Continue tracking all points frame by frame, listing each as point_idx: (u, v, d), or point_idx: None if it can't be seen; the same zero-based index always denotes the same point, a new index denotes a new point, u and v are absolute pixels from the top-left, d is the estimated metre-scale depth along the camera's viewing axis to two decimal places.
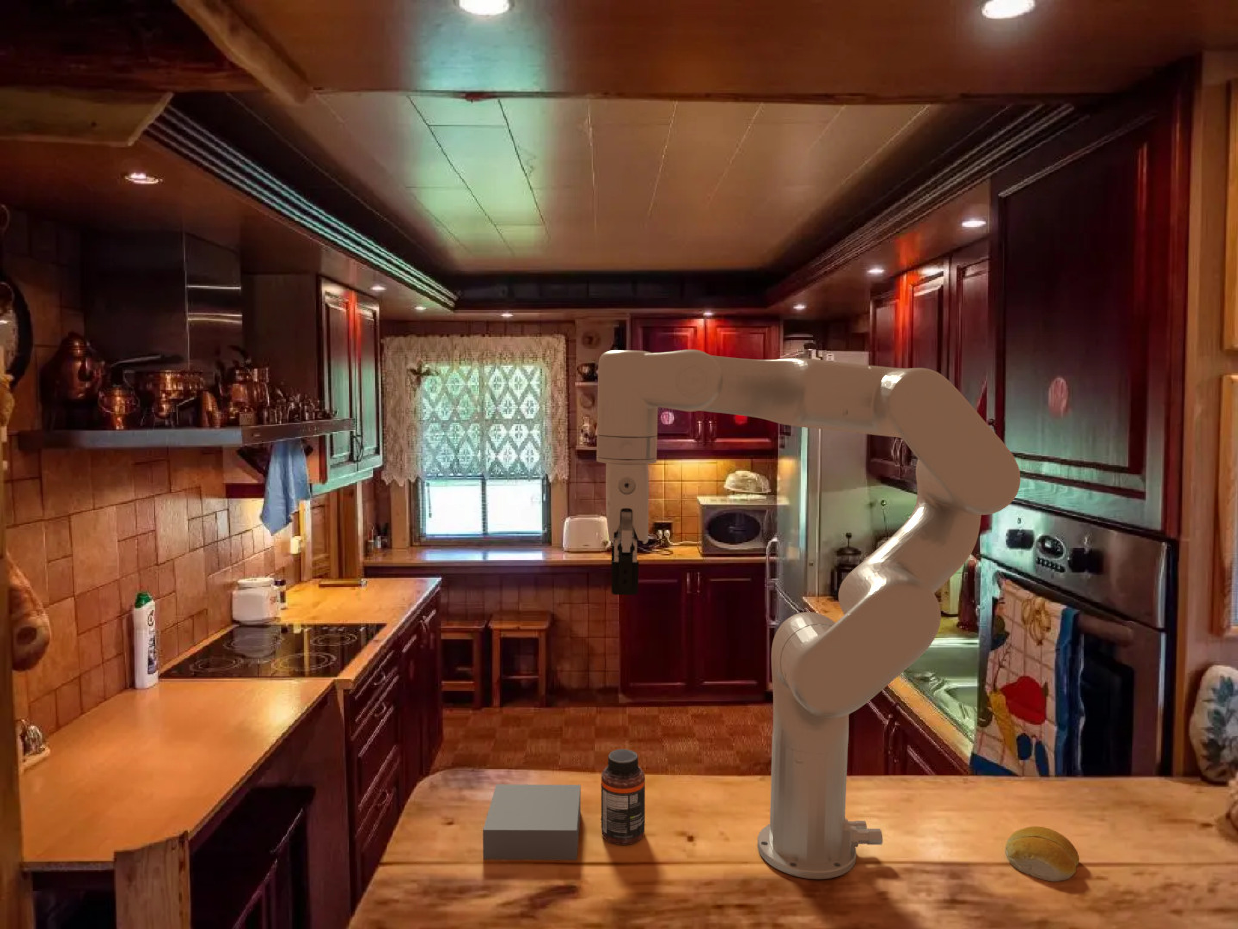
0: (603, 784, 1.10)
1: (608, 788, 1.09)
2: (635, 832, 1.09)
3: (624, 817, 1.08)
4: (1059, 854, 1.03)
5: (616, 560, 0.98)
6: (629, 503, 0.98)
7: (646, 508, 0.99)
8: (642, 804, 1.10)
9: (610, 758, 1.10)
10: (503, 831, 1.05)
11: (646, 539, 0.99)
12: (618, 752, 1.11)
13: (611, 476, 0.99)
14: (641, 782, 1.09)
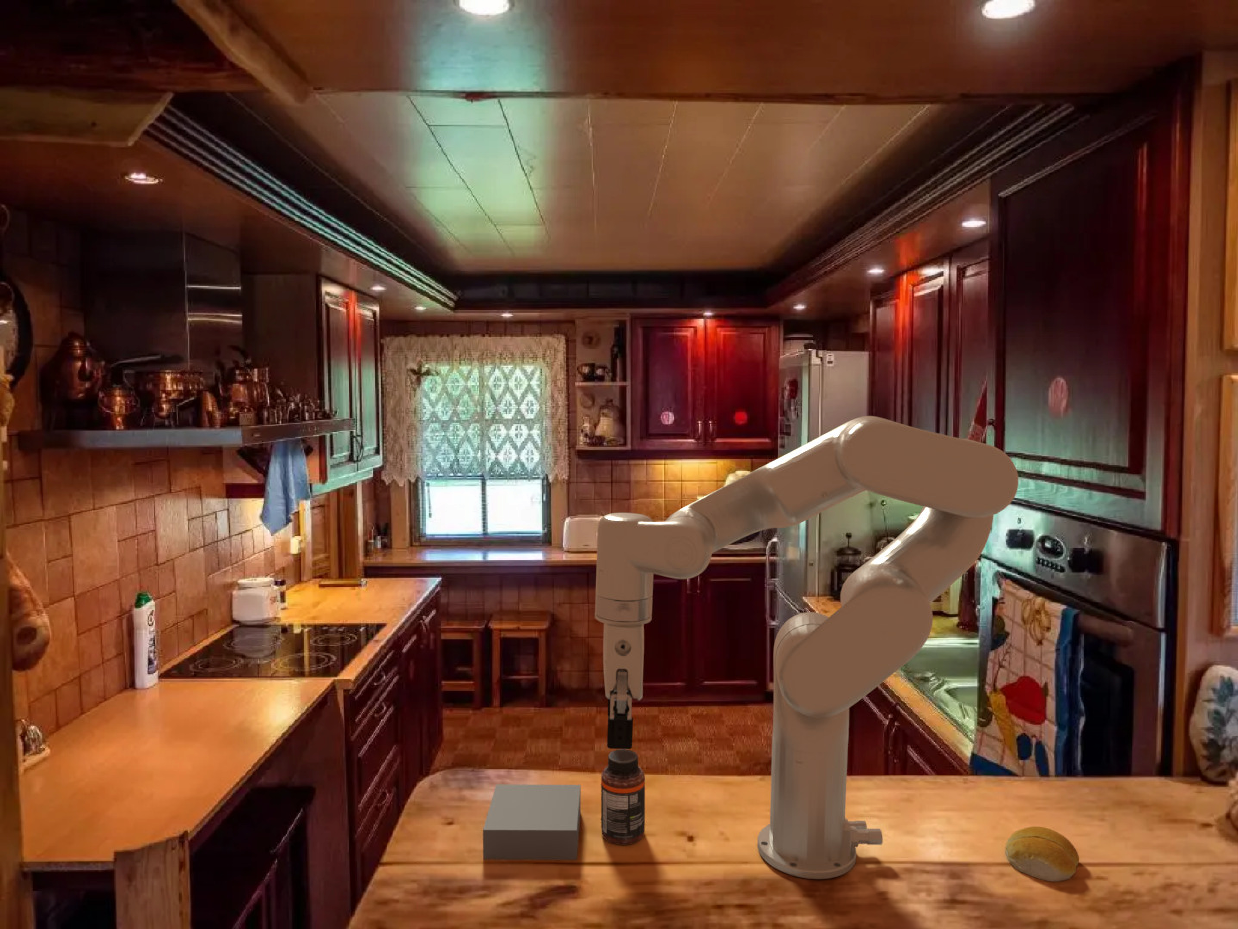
0: (603, 784, 1.10)
1: (608, 788, 1.09)
2: (635, 832, 1.09)
3: (624, 817, 1.08)
4: (1059, 854, 1.03)
5: (612, 718, 1.04)
6: (625, 664, 1.04)
7: (641, 668, 1.05)
8: (642, 804, 1.10)
9: (610, 758, 1.10)
10: (503, 831, 1.05)
11: (640, 697, 1.05)
12: (618, 752, 1.11)
13: (608, 637, 1.05)
14: (641, 782, 1.09)
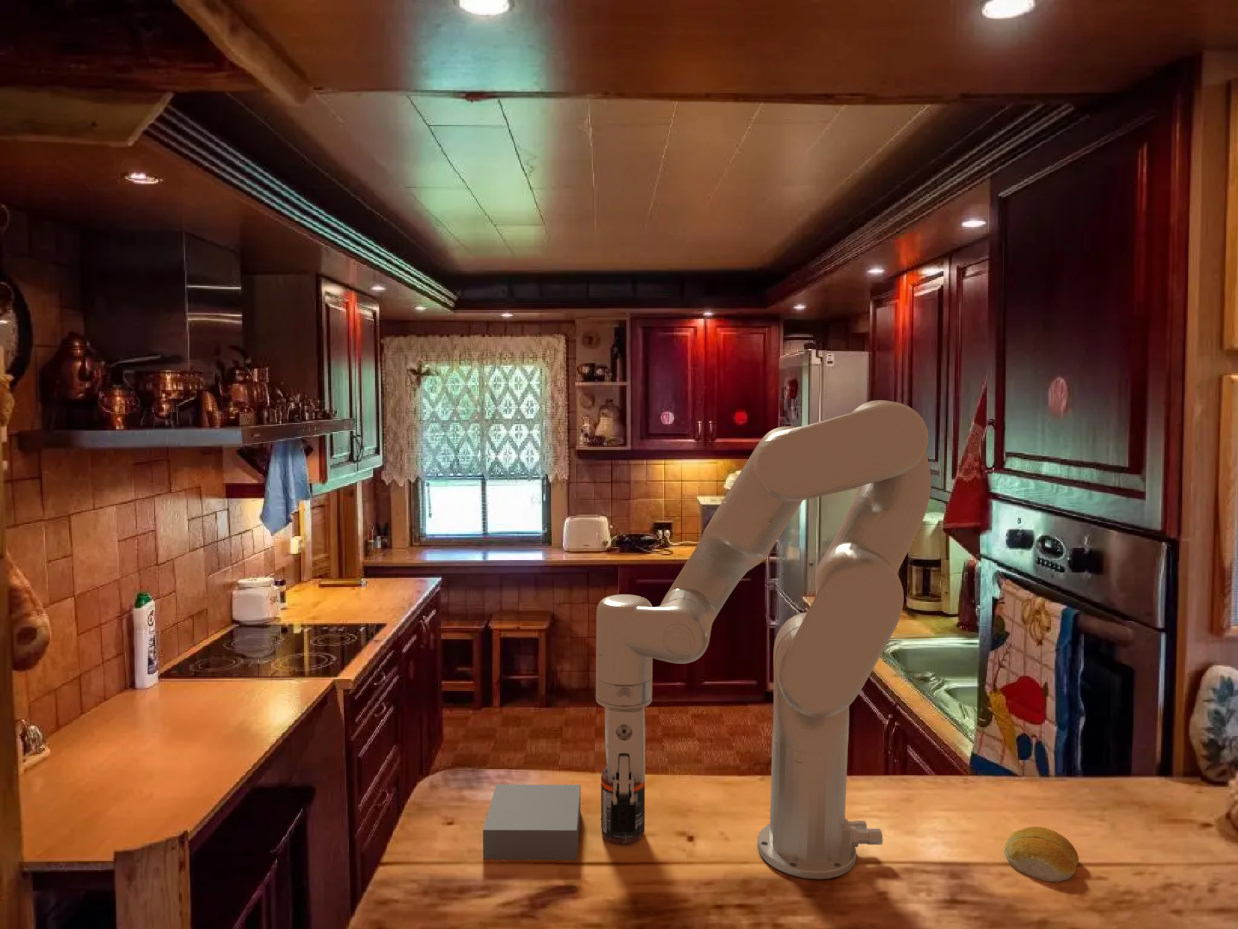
0: (603, 784, 1.10)
1: (608, 788, 1.09)
2: (635, 832, 1.09)
3: None
4: (1059, 854, 1.03)
5: (615, 804, 1.06)
6: (626, 748, 1.05)
7: (642, 752, 1.06)
8: (642, 804, 1.10)
9: None
10: (503, 831, 1.05)
11: (643, 780, 1.06)
12: None
13: (609, 722, 1.06)
14: None
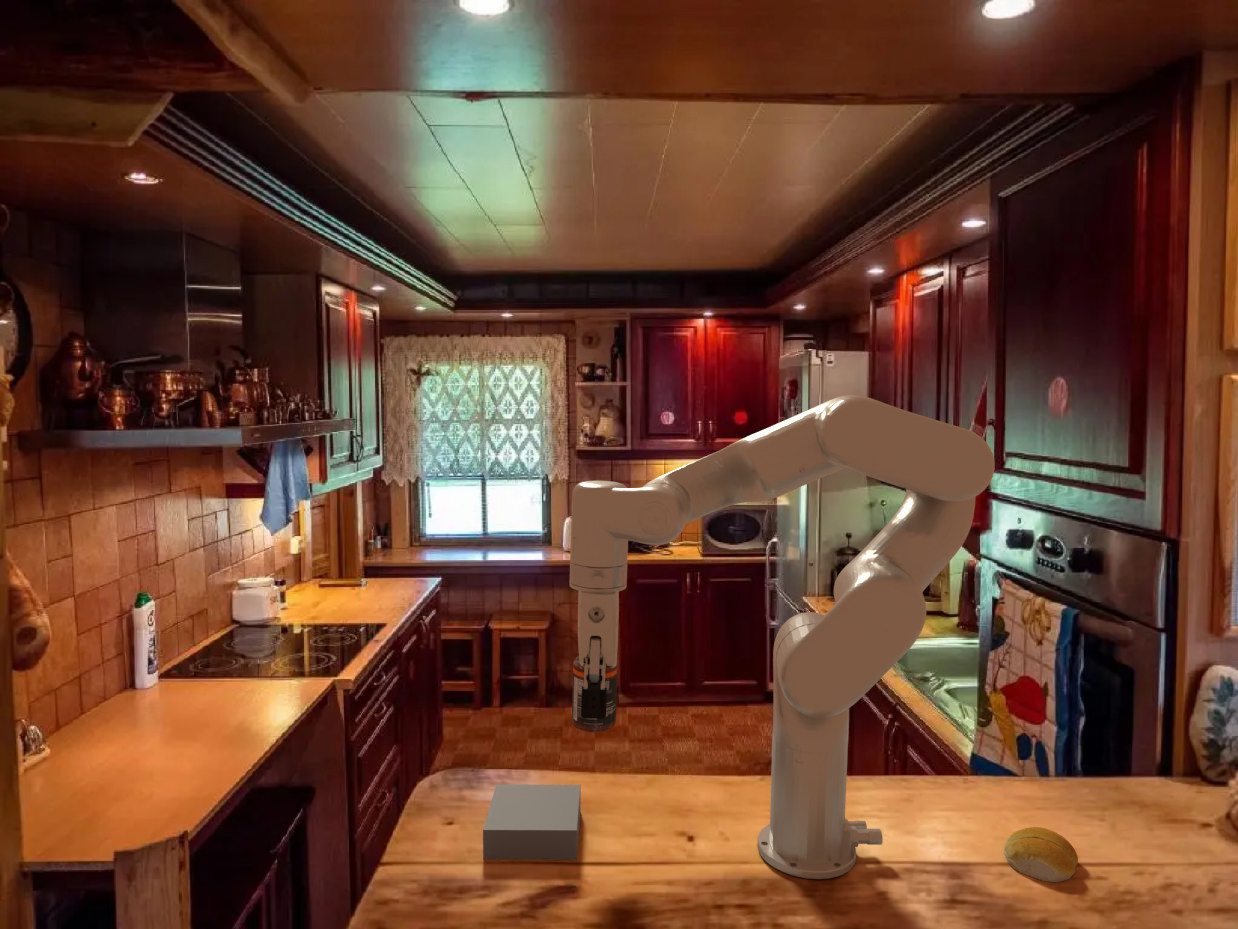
0: (574, 671, 1.08)
1: (579, 675, 1.07)
2: (606, 719, 1.08)
3: None
4: (1059, 854, 1.03)
5: (585, 688, 1.05)
6: (598, 631, 1.04)
7: (614, 635, 1.04)
8: (614, 692, 1.08)
9: None
10: (503, 831, 1.05)
11: (614, 664, 1.05)
12: None
13: (582, 604, 1.04)
14: (613, 670, 1.08)
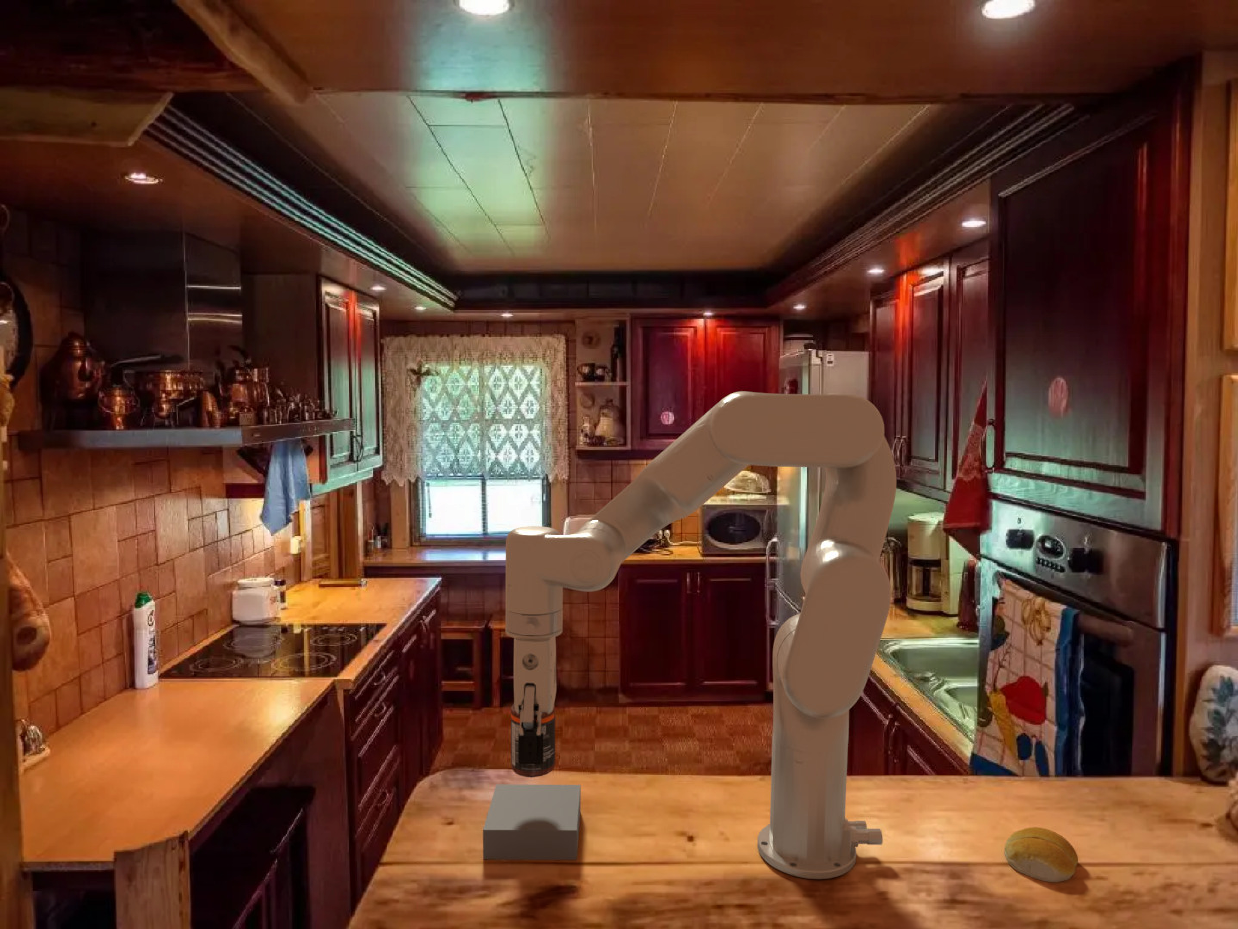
0: (512, 716, 1.09)
1: (516, 720, 1.08)
2: (544, 764, 1.08)
3: None
4: (1059, 854, 1.03)
5: (521, 734, 1.05)
6: (532, 678, 1.04)
7: (549, 682, 1.05)
8: (551, 737, 1.09)
9: None
10: (503, 831, 1.05)
11: (549, 711, 1.05)
12: None
13: (516, 652, 1.05)
14: (550, 714, 1.08)
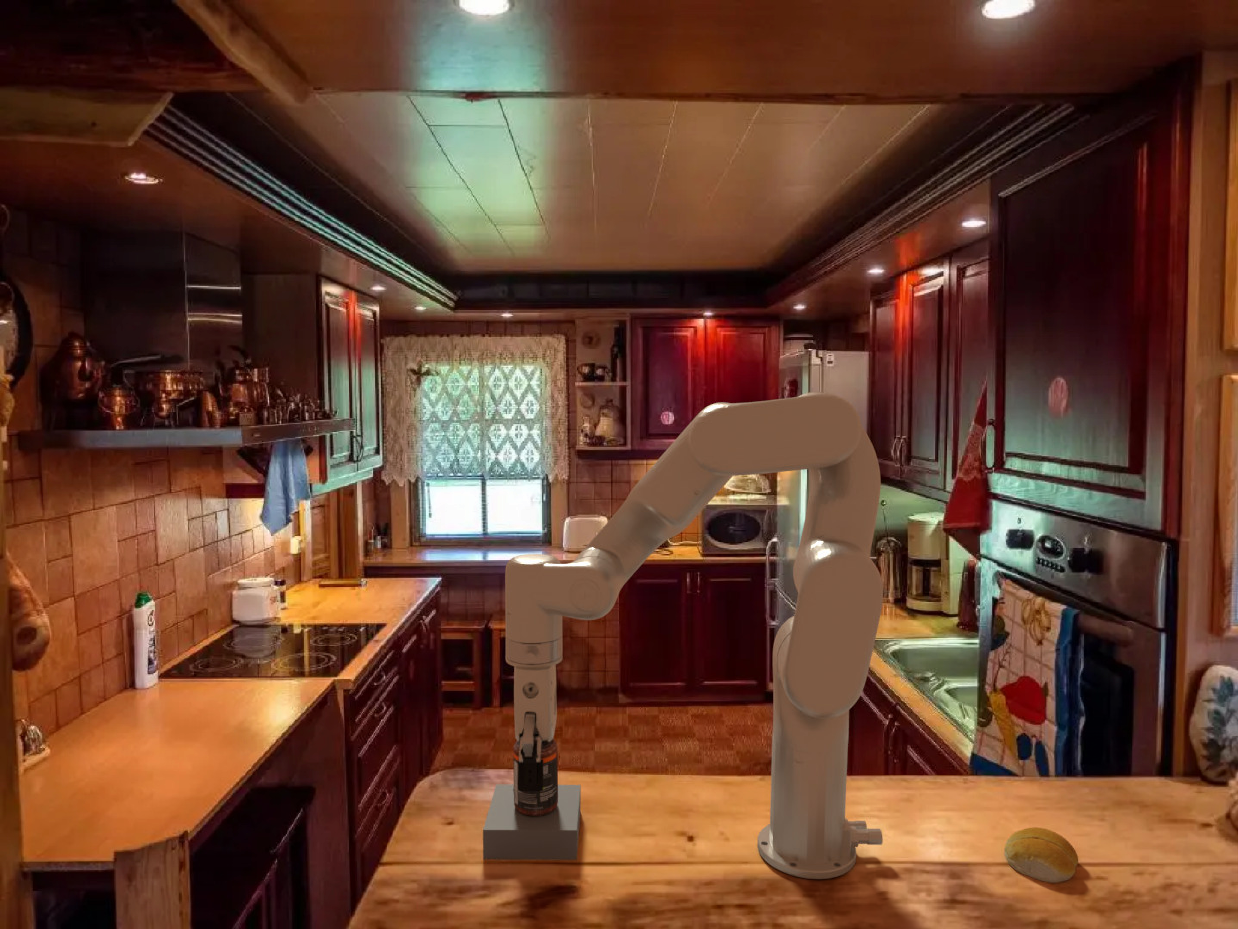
0: (514, 755, 1.09)
1: None
2: (546, 803, 1.08)
3: None
4: (1059, 855, 1.02)
5: (521, 761, 1.04)
6: (533, 707, 1.05)
7: (549, 710, 1.05)
8: (553, 775, 1.09)
9: None
10: (503, 831, 1.05)
11: (550, 739, 1.05)
12: None
13: (516, 680, 1.05)
14: (551, 754, 1.08)
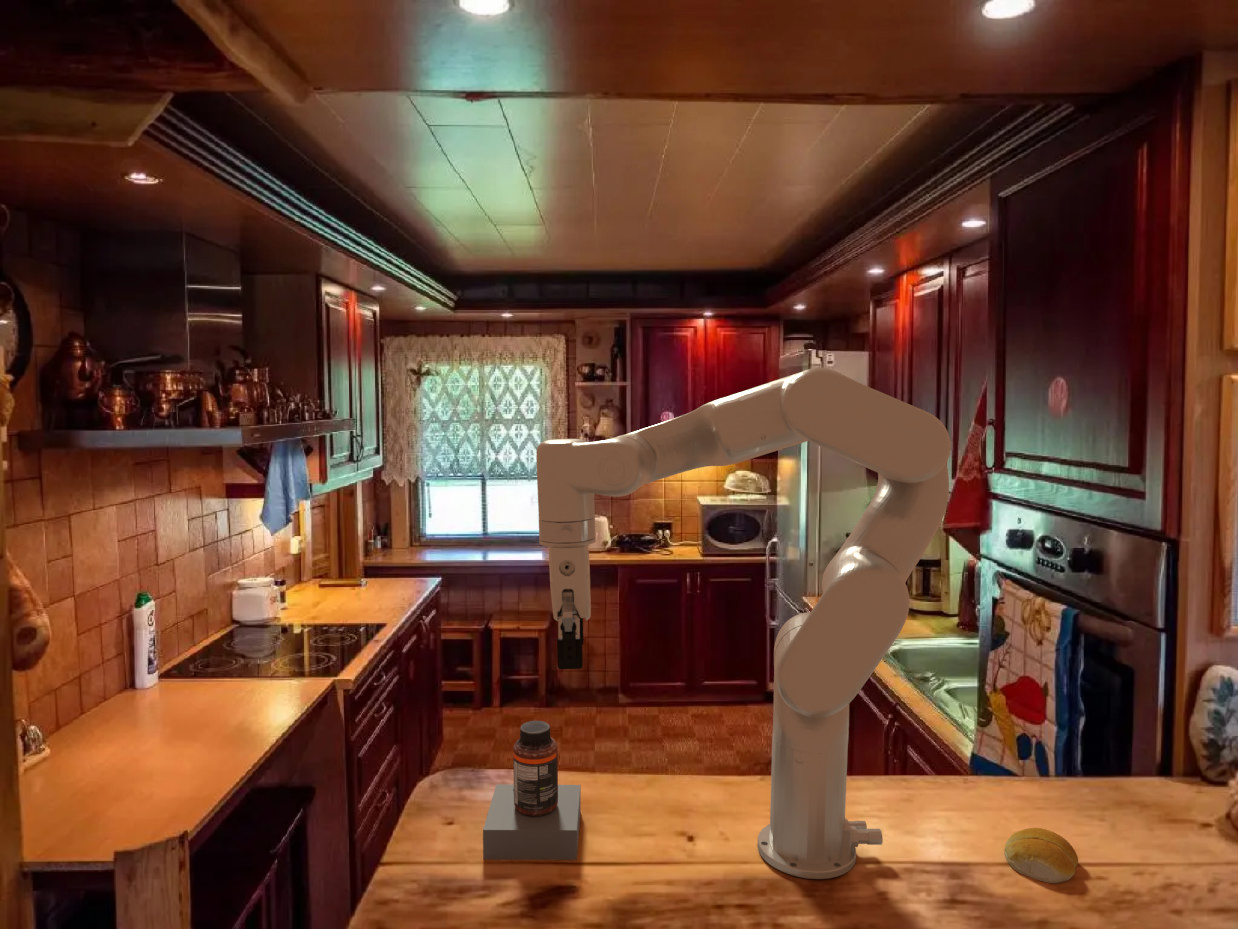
0: (514, 755, 1.09)
1: (518, 759, 1.08)
2: (546, 803, 1.08)
3: (534, 788, 1.08)
4: (1059, 855, 1.02)
5: (560, 638, 1.05)
6: (570, 584, 1.06)
7: (586, 587, 1.06)
8: (553, 776, 1.09)
9: (521, 729, 1.09)
10: (503, 831, 1.05)
11: (588, 616, 1.06)
12: (531, 723, 1.11)
13: (552, 559, 1.06)
14: (551, 754, 1.08)
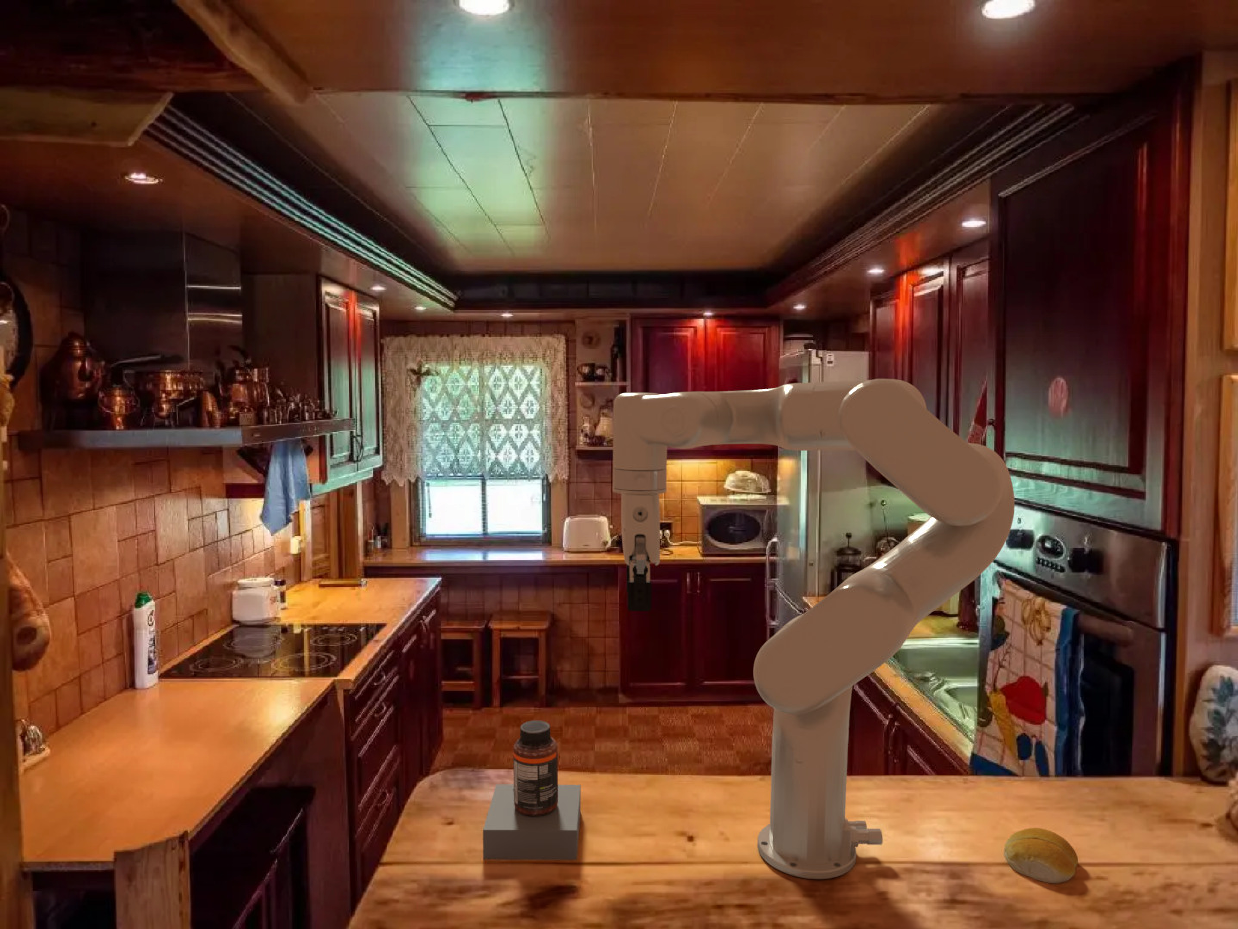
0: (514, 754, 1.09)
1: (518, 759, 1.08)
2: (546, 803, 1.08)
3: (534, 787, 1.08)
4: (1059, 855, 1.02)
5: (631, 580, 1.10)
6: (642, 529, 1.11)
7: (658, 534, 1.11)
8: (553, 775, 1.09)
9: (521, 728, 1.09)
10: (503, 831, 1.05)
11: (658, 561, 1.11)
12: (531, 723, 1.11)
13: (626, 505, 1.11)
14: (551, 753, 1.09)
